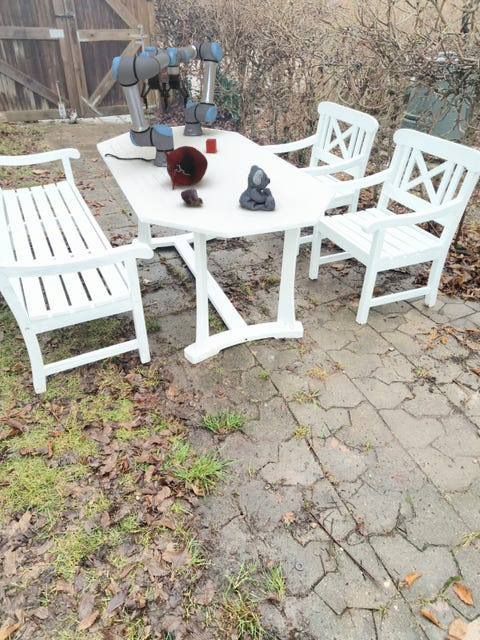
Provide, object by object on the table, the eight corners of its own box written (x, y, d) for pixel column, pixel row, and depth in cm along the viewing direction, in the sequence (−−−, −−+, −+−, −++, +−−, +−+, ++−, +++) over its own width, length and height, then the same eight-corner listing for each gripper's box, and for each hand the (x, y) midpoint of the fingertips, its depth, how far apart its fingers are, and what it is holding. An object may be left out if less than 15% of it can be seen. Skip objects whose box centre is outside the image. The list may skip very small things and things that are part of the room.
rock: (196, 202, 238) (178, 205, 233) (194, 185, 234) (176, 188, 230) (205, 205, 228) (187, 208, 224) (203, 188, 224) (185, 191, 220)
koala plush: (276, 211, 223) (277, 171, 212) (240, 212, 222) (240, 172, 211) (271, 199, 237) (272, 161, 226) (237, 200, 236) (237, 162, 225)
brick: (215, 153, 316) (214, 141, 311) (206, 153, 316) (205, 140, 312) (216, 150, 321) (216, 138, 317) (208, 150, 322) (207, 138, 317)
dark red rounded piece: (165, 151, 264) (159, 150, 240) (204, 143, 263) (202, 140, 240) (174, 188, 271) (169, 190, 247) (212, 180, 270) (211, 181, 247)
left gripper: (172, 73, 298) (175, 108, 310) (136, 73, 301) (140, 107, 313) (169, 74, 292) (172, 110, 304) (132, 74, 295) (137, 109, 307)
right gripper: (192, 73, 307) (194, 107, 319) (157, 73, 311) (160, 106, 323) (190, 74, 301) (192, 109, 313) (154, 74, 305) (157, 108, 316)
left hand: (156, 109), depth 309 cm, fingers open, 13 cm apart
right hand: (176, 108), depth 318 cm, fingers open, 13 cm apart
